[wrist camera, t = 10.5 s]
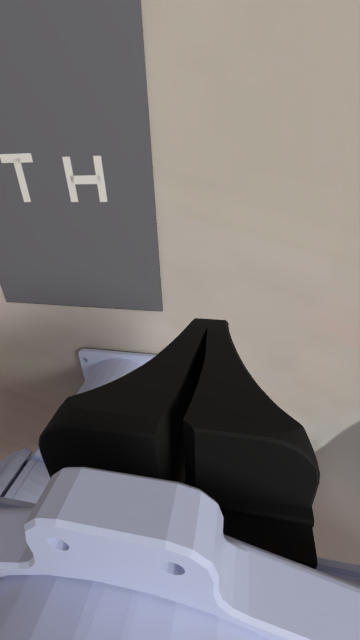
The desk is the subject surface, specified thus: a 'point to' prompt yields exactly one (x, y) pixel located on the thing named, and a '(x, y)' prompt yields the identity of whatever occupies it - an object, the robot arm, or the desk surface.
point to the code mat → (76, 156)
